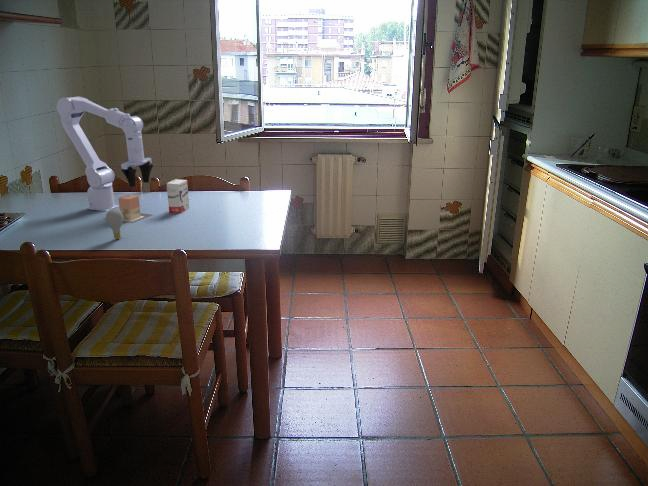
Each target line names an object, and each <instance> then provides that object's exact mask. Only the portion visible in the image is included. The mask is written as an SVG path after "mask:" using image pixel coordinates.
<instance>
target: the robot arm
mask: <svg viewBox="0 0 648 486" xmlns="http://www.w3.org/2000/svg"><path fill="white" fill-rule="evenodd" d="M55 110H56V111H57V113H58V114H59V117H60V121H61V122H60V123H61V125H62V128H63V129H64V131H65V132H66V134H67V137H69V139H70V141H71V143H72V144H73V147H74V148H75V150H76V151H77V153H78V155H79V156H80V158H81V160H82V161H83V163H84V165H85V166H86V167H85V170H84V173H85V175H86V181H87V182H88V184H89V187H88V189H87V192H86V194H87V195H86V196H87V202H88V208H87V210H93V211H102V212H107V211H108V212H109V211H111V210H115V209H117V208H119V204H115V196H114V188H113V182H114V180H115V178H116V177H115V172H114V171H113V170H112V168H110V167H109V166H108V165H107V163H106V162H104V161H102V160H101V159H100V158H99V157H98V154H97V153H96V151H95V150H94V148H93V146H92V144H91V143H90V140H89V138H87V136H86V134H85V132H84V131H83V129H82V127H81V125H80V120H81V118H82V117H83V116H84V114H85V112H87V113H90V114H93V115H96V116H98V117H101V118H104V119H105V121H106V123H107V124H110V125H112V126H115V127H117V128H119V129H122V131H123V133H124V137H125V140H126V142H125V143H126V148H127V150H126V151H127V157H128V159H127V160H128V161H125V162H123V163H121V164H120V166H121V169H120V170H121V172H122V173H123V175H124V176H125V178H126V180H127V182H128V184H129V187H132V188H135V187H136V173H137V168H135V167H138V168H139V170H140V173H141V178H142V179H141V180H142V181H143V183H145V184H146V183H149V182H150V177H151V172H152V169H153V167H154V164H153V161H152V158H151V157H145V153H144V143H143V135H142V130H143V129H144V121H143V120H142V118H140V117H139V116H138V115H132V116H131V114H130V113H125V112H122V111H120V109H119V108H117V107H114V108H113V107H111V108H109V109H108V108H105V107H103V106H101V105H99V104H97V103H95V102H93V101H91V100H89V99H88V98H86V97H83V96H80V95H79V96H71V97H61V98H60V99H58V101H57V105H56V107H55Z"/></svg>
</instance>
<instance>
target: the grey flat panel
mask: <svg viewBox="0 0 648 486" xmlns="http://www.w3.org/2000/svg"><path fill="white" fill-rule="evenodd" d="M140 214H141V217H140V218H137V219H134V220H123V223H128V224H133V223H136V222H139V221H141V220H144V219H147V218H149V217H152V216H153V214H149V213H144V212H143V213H142V212H140ZM103 220H105V221H106V217H105V218H103Z"/></svg>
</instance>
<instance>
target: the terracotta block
mask: <svg viewBox="0 0 648 486" xmlns="http://www.w3.org/2000/svg"><path fill="white" fill-rule="evenodd" d="M118 205H119V207H118V208H119V210H120V209H127V210H132V209H134V208H137V207H141V206H140V197H139V196H138V195H131V194H129V195H128V194H127V195H122V196H120V197H118Z"/></svg>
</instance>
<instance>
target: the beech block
mask: <svg viewBox="0 0 648 486" xmlns="http://www.w3.org/2000/svg"><path fill="white" fill-rule="evenodd" d="M140 207H141V206H140ZM140 207H137V208H134V209H132V210H127V209H120V208H119V211H120V212H121V213H122V214H123V217H124V220H134V219H137V218H140V217H141V214H140V213H141V208H140Z"/></svg>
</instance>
